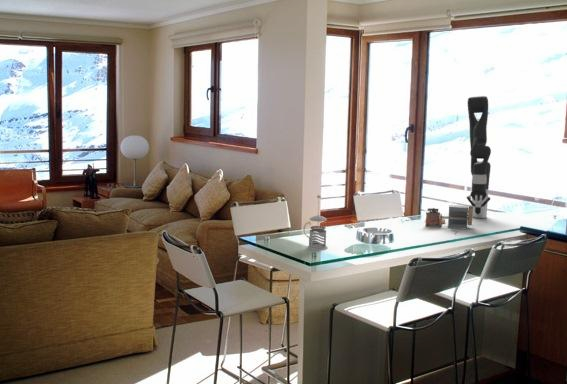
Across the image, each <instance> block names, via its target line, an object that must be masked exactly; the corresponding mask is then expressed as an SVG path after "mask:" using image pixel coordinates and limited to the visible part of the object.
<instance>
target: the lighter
mask: <svg viewBox="0 0 567 384" xmlns="http://www.w3.org/2000/svg"><path fill="white" fill-rule="evenodd" d="M425 214H426V215H425V216H426V217H425V221H426V222H425V227H428V226H436V227H441V226H440V224H439V222H440V214H441V212H439V208H435V207H430V208H427V212H426V213H425Z"/></svg>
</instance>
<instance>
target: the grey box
mask: <svg viewBox="0 0 567 384" xmlns="http://www.w3.org/2000/svg"><path fill="white" fill-rule="evenodd" d="M468 210H469V205H459V204H456V205H455V204H454V205H453V204H449V205H448V216H449V219H447V220H448V222H447V228H448V229H449V228H450V229H460V228H466V229H465V230H468ZM450 217H467V219H466V220H458V219H450Z"/></svg>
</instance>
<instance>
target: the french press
mask: <svg viewBox="0 0 567 384" xmlns="http://www.w3.org/2000/svg"><path fill="white" fill-rule="evenodd" d="M321 197H322V196H321V195H320V194H318V195H317V196H316V198H317V199H321ZM317 203H318V206H317V207H318V208H317V209H318V212H317V215H314V216H311V217H310V218H309V220H310V221H311V222H317V223H321V222H326V221H327V220H328V219H327V218H326V217H324V216H322V215H320V213H319V210H320V209H319V208H320V207H319V206H320V201H318V202H317ZM310 221H308V222H306V223H305V224H304V225H303V233H304V235H305V236H306V238H308V246H307V247H306V248H307V249H308V250H311V249H312V251H326V250H328V248H329V247H328V246H327V230H325V229H326V227H325V226H322V225H312V226H310V230H309V235H307V234H306V233H305V229H306V228H305V227H306V226H307V225H308V224H311V222H310Z"/></svg>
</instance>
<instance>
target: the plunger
mask: <svg viewBox="0 0 567 384" xmlns="http://www.w3.org/2000/svg"><path fill="white" fill-rule="evenodd" d="M472 216H473V206H471V204H470V205H468V222H467V226H473V217H472ZM442 219H445V220H448V219H449V215H443V214H442V213H440V226H439V227H442V225H443V224H442ZM450 219H458V220H466V219H467V217H450Z"/></svg>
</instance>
